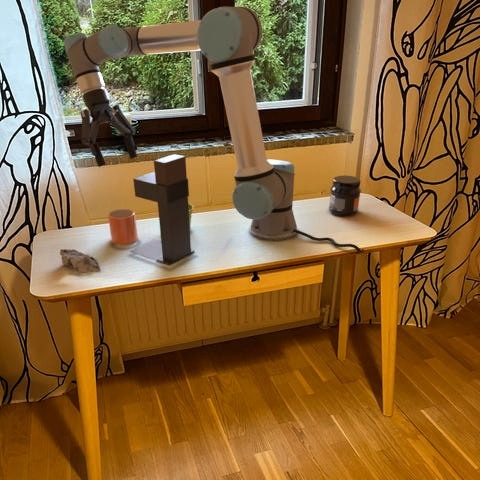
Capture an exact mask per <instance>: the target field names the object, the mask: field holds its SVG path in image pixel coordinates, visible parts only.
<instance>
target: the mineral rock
mask: <svg viewBox="0 0 480 480" xmlns="http://www.w3.org/2000/svg"><path fill="white" fill-rule="evenodd" d="M59 255H60V256H61V263H62V265H63V266H67V268H69V270H75V271H77V272H78V273H80V274H81V273H93V272H100V271H101V267H100V265H99V262H98V261H97V259H95V257H93V256H91V255H89V254H85V253H83V252H80V251H79V250H76V249H74V248H73V249H70V248H64V249H60V252H59Z"/></svg>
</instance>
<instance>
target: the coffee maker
mask: <svg viewBox="0 0 480 480" xmlns="http://www.w3.org/2000/svg"><path fill="white" fill-rule="evenodd" d="M153 168H154V169H153V170H154V171H152V172H149V173H146V174H143V175H140V176H137V177H134V178H133V180H132V181H133V187H134V188H133V189H134V196H135V197H136V198H140V199H143V200H147V201H151V202H154V203H157V211H158V220H159V221H158V223H159V232H160V233H159V234H160V240H158V239H152V240H150V241H148V242H146V243H144V244H141V245H139V246H136V248H133V249H131V250H129V251H128V252H129V253H133V254H135V255H138V256H141V257H144V258H147V259H149V260H153V261H155V262H158V263H160V264H163V265H167V266H169V267H170V266H172V265H173V264H176V263H178V262H180V261H181V260H183V259H185V258H187V257H189V256H190V255H192V254H195V250H193V249H192V244H191V226H190V224H189V208H188V203H189V197H190V189H189V188H190V187H189V178H188V176H187V159H186V155H181V154H175V153H174V154H171V155H167V156H164V157H161V158H158V159H155V160H153Z"/></svg>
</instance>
